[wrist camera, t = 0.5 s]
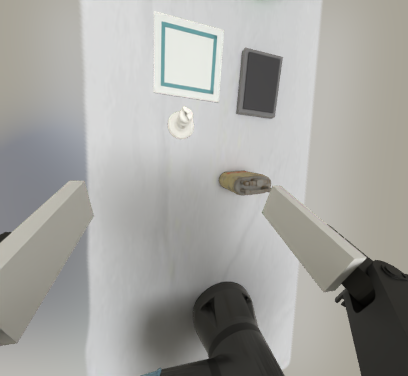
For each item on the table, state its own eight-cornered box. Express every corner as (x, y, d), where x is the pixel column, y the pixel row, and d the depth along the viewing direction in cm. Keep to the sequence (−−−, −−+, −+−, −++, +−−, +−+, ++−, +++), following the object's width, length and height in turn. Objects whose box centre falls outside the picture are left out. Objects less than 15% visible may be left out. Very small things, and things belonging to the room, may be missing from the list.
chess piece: (185, 106, 30) (193, 83, 20) (198, 131, 31) (212, 119, 21) (162, 120, 29) (160, 102, 20) (177, 144, 31) (181, 138, 21)
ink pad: (270, 118, 34) (275, 116, 32) (236, 113, 32) (239, 111, 30) (278, 60, 32) (284, 55, 30) (242, 51, 30) (246, 46, 29)
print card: (218, 102, 31) (218, 102, 30) (153, 92, 28) (153, 91, 28) (223, 31, 29) (224, 29, 28) (154, 12, 26) (153, 10, 25)
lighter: (249, 170, 35) (280, 175, 26) (249, 186, 36) (279, 197, 26) (218, 172, 34) (239, 178, 24) (219, 189, 34) (239, 202, 25)
